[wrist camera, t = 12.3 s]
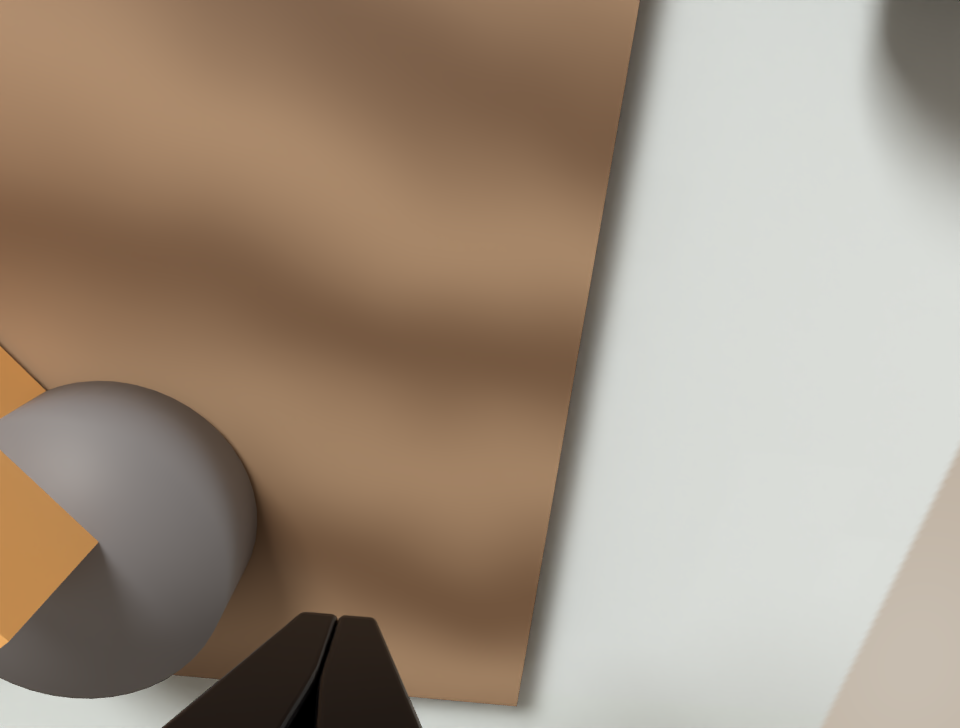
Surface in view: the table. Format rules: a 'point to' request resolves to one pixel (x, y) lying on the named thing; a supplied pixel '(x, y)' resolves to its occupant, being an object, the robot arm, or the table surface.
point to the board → (329, 280)
